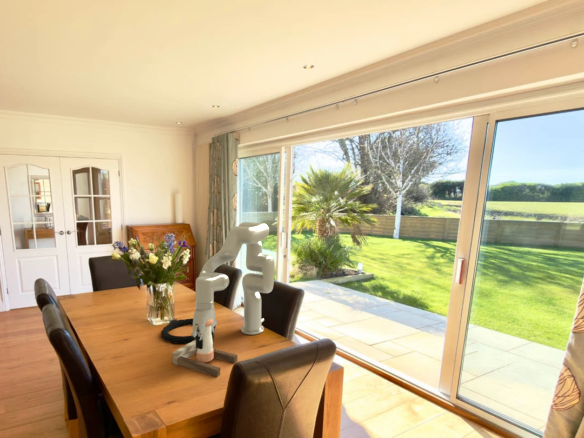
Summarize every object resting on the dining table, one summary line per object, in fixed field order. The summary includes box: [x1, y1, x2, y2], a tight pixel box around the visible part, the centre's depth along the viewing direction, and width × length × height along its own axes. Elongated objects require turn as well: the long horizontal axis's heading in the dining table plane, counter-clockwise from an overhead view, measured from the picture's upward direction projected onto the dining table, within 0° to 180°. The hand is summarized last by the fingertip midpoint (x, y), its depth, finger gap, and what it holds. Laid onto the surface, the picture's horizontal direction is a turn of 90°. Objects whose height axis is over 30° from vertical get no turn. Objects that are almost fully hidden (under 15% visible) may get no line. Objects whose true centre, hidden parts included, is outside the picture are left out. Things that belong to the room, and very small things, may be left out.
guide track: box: [172, 340, 238, 378], centre depth 139 cm, size 14×24×5 cm, turn 65°
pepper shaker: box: [195, 319, 215, 363], centre depth 139 cm, size 7×7×19 cm
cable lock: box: [160, 318, 216, 345], centre depth 171 cm, size 28×4×30 cm
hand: (205, 344), depth 139 cm, fingers closed on pepper shaker, 6 cm apart
